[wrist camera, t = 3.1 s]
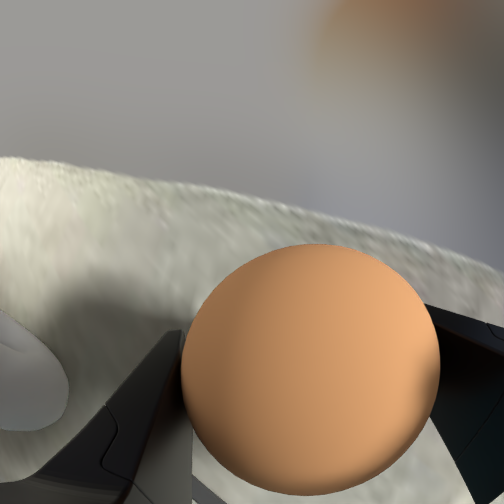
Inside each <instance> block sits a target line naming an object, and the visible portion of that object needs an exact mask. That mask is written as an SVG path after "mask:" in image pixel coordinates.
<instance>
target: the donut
mask: <svg viewBox="0 0 504 504" xmlns="http://www.w3.org/2000/svg"><path fill="white" fill-rule="evenodd" d="M69 392H70V391H69V382H68V379H67V377H66V374H65V372H64V370H63V368H62V365H61V363H60V362H59V361H58V359H57V358H56V357H55V355H54V354H53V353H52V352H51V351H50V350H49V349H48V347H47V346H46V345H45V344H43V343H42V342H41V341H40V340H39V339H38V338H37V337H36V336H35V335H33V334H32V333H31V332H29V331H28V330H27V329H26V328H24V327H23V326H22V325H21V324H19V323H18V322H17V321H15V320H14V319H13V318H11V317H10V316H9V315H7V314H6V313H5V312H3V311H2V310H0V428H1V429H5V430H9V431H35V430H40V429H42V428H44V427H47V426H49V425H51V424H53V423H54V422H56V421H57V420H59V419H60V418H61V416H62V414H63V413H64V411H65V408H66V405H67V401H68V397H69Z"/></svg>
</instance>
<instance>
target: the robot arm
mask: <svg viewBox="0 0 504 504" xmlns="http://www.w3.org/2000/svg"><path fill="white" fill-rule="evenodd" d="M424 305H425V307H426V309H427V311H428V313H429V315H430V317H431V320H432V323H433V325H434V328H435V332H436V335H437V340H438V345H439V352H440V378H439V386H438V391H437V395H436V399H435V402H434V405H433V408H432V411H431V413H430V416H429V417H430V418H431V420H432V422H433V423H434V425H435V427H436V429H437V431H438V432H439V434H440V436H441V438H442V440H443V441H444V443H445V445H446V447H447V449H448V451H449V452H450V454H451V456H452V458H453V460H454V461H455V464H456V466H457V468H458V470H459V472H460V474H461V476H462V478H463V480H464V482H465V484H466V486H467V488H468V490H469V492H470V494H471V496H472V498H473V500H474V502H475V504H489V503H491V502H492V501H493V500H494V499H496V498H497V497H498V496H499V495H501V494H502V493H503V492H504V328H503V327H499V326H496V325H493V324H489V323H485V322H483V321H479V320H476V319H473V318H470V317H467V316H463V315H460V314H457V313H454V312H450V311H447V310H444V309H441V308H437V307H434V306H431V305H428V304H424ZM185 341H186V340H185V335H184V332H183V330H182V329H175V330H168V331H167V332H166V333H165V334H164V336H163V337H162V338H161V339H160V340H159V341H158V342H157V344H156V345H155V346H154V347H153V348H152V349H151V351H150V352H149V353H148V354H147V355H146V356H145V357H144V359H143V360H142V361H141V362H140V363H139V364H138V366H137V367H136V368H135V369H134V370H133V371H132V373H131V374H130V375H129V376H128V377H127V378H126V380H125V381H124V382H123V383H122V384H121V385H120V387H119V388H118V389H117V390H116V391H115V392H114V394H113V395H112V396H111V397H110V398H109V400H108V401H107V402H106V403H105V405H106V406H105V405H103V406H102V408H101V409H100V410H99V411H98V412H97V414H96V415H95V416H94V417H93V418H92V419H91V420H90V421H89V422H88V424H87V425H86V426H85V427H84V428H83V429H82V430H81V431H80V432H79V433H78V434H77V435H76V436H75V437H74V438H73V439H72V440H71V441H70V442H69V443H68V444H67V445H65V446H64V447H63V448H62V449H61V450H60V451H59V452H58V453H57V454H56V455H55V456H54V457H53V458H51V459H50V460H49V461H48V462H47V463H46V464H45V465H44V466H43V467H42V468H41V469H39V470H38V471H37V472H36V473H34V474H33V475H31V476H29V477H27V478H25V479H22V480H19V481H14V482H6V483H0V504H192V431H193V426H192V424H191V422H190V420H189V417H188V414H187V411H186V408H185V405H184V401H183V395H182V389H181V362H182V353H183V349H184V345H185Z"/></svg>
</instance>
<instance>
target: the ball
mask: <svg viewBox="0 0 504 504" xmlns="http://www.w3.org/2000/svg"><path fill="white" fill-rule="evenodd" d="M439 378H440V352H439V345H438V340H437V335H436V332H435V328H434V325H433V323H432V320H431V317H430V315H429V313H428V311H427V309H426V307H425V305H424V303H423V302H422V300H421V299H420V297H419V296H418V295H417V293H416V292H415V290H414V289H413V288H412V287H411V286H410V285H409V284H408V282H407V281H406V280H405V279H403V278H402V277H401V276H400V275H399V274H398V273H397V272H396V271H394V270H393V269H391V268H390V267H388V266H387V265H386V264H384V263H382V262H381V261H379V260H377V259H375V258H373V257H371V256H369V255H367V254H365V253H362V252H359V251H357V250H354V249H350V248H346V247H342V246H335V245H326V244H304V245H296V246H289V247H285V248H282V249H278V250H274V251H271V252H269V253H267V254H264V255H262V256H259V257H257V258H255V259H253V260H251V261H249V262H248V263H246V264H244V265H242V266H241V267H239V268H238V269H236V270H235V271H234V272H233V273H231V274H230V275H229V276H227V277H226V278H225V279H224V280H223V281H222V282H221V283H220V284H219V285H218V286H217V287H216V288H215V289H214V290H213V291H212V293H211V294H210V295H209V296H208V298H207V299H206V300H205V302H204V303H203V305H202V306H201V308H200V310H199V311H198V313H197V315H196V317H195V318H194V320H193V322H192V325H191V327H190V330H189V332H188V334H187V338H186V341H185V345H184V349H183V353H182V362H181V389H182V395H183V401H184V405H185V408H186V411H187V414H188V417H189V420H190V422H191V424H192V426H193V428H194V430H195V432H196V434H197V436H198V438H199V439H200V440H201V442H202V443H203V445H204V446H205V447H206V449H207V450H208V451H209V453H210V454H211V455H212V456H213V457H214V458H215V459H216V460H217V461H218V462H219V463H220V464H221V465H222V466H223V467H225V468H226V469H227V470H229V471H230V472H231V473H233V474H234V475H235V476H237V477H239V478H241V479H242V480H244V481H246V482H248V483H250V484H252V485H254V486H257V487H260V488H263V489H265V490H268V491H273V492H277V493H282V494H287V495H298V496H314V495H325V494H330V493H335V492H339V491H343V490H346V489H349V488H351V487H354V486H357V485H359V484H362V483H364V482H366V481H368V480H370V479H372V478H374V477H375V476H377V475H379V474H380V473H382V472H383V471H384V470H386V469H387V468H389V467H390V466H391V465H392V464H393V463H394V462H396V461H397V460H398V459H399V458H400V457H401V456H402V455H403V454H404V453H405V452H406V451H407V449H408V448H409V447H410V446H411V445H412V443H413V442H414V441H415V440H416V438H417V437H418V435H419V434H420V432H421V431H422V429H423V428H424V426H425V424H426V422H427V420H428V418H429V416H430V413H431V411H432V408H433V405H434V402H435V399H436V395H437V391H438V386H439Z"/></svg>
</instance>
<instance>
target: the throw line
mask: <svg viewBox="0 0 504 504" xmlns="http://www.w3.org/2000/svg"><path fill="white" fill-rule="evenodd" d="M192 498H193V499H194V500H195V501H197V502H198V503H199V504H227V503H226V502H224V501H223V500H222V499H220V498H219V497H218V496H217V495H216V494H214V493H213V492H212V491H211V490H210V489H208V488H207V487H206V486H205V485H204V484H203V483H201V482H200V481H199V480H198V479H197V478H196V477H195V476H194V475H192Z"/></svg>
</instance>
